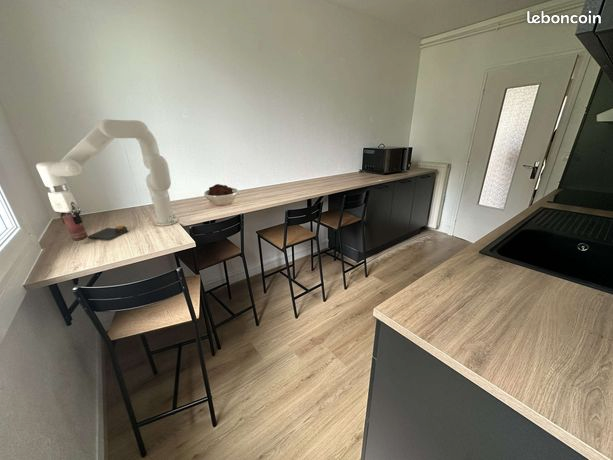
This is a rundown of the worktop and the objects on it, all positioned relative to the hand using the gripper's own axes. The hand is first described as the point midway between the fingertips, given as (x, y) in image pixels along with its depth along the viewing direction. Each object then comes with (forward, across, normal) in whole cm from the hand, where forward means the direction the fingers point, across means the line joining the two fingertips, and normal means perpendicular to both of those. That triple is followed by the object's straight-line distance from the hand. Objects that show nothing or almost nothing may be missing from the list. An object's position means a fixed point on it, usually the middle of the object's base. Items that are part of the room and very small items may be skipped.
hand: (73, 222), depth 127 cm
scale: (+13, +3, +12) cm, 18 cm away
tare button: (+10, +8, +16) cm, 21 cm away
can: (+9, 0, 0) cm, 9 cm away
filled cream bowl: (+15, +38, +78) cm, 88 cm away
